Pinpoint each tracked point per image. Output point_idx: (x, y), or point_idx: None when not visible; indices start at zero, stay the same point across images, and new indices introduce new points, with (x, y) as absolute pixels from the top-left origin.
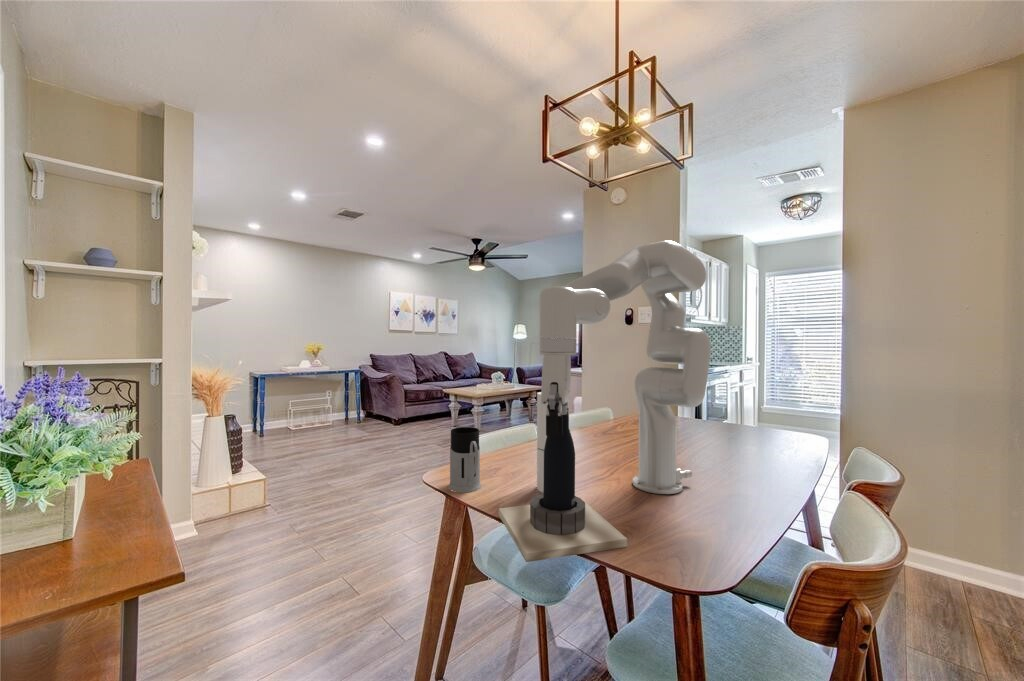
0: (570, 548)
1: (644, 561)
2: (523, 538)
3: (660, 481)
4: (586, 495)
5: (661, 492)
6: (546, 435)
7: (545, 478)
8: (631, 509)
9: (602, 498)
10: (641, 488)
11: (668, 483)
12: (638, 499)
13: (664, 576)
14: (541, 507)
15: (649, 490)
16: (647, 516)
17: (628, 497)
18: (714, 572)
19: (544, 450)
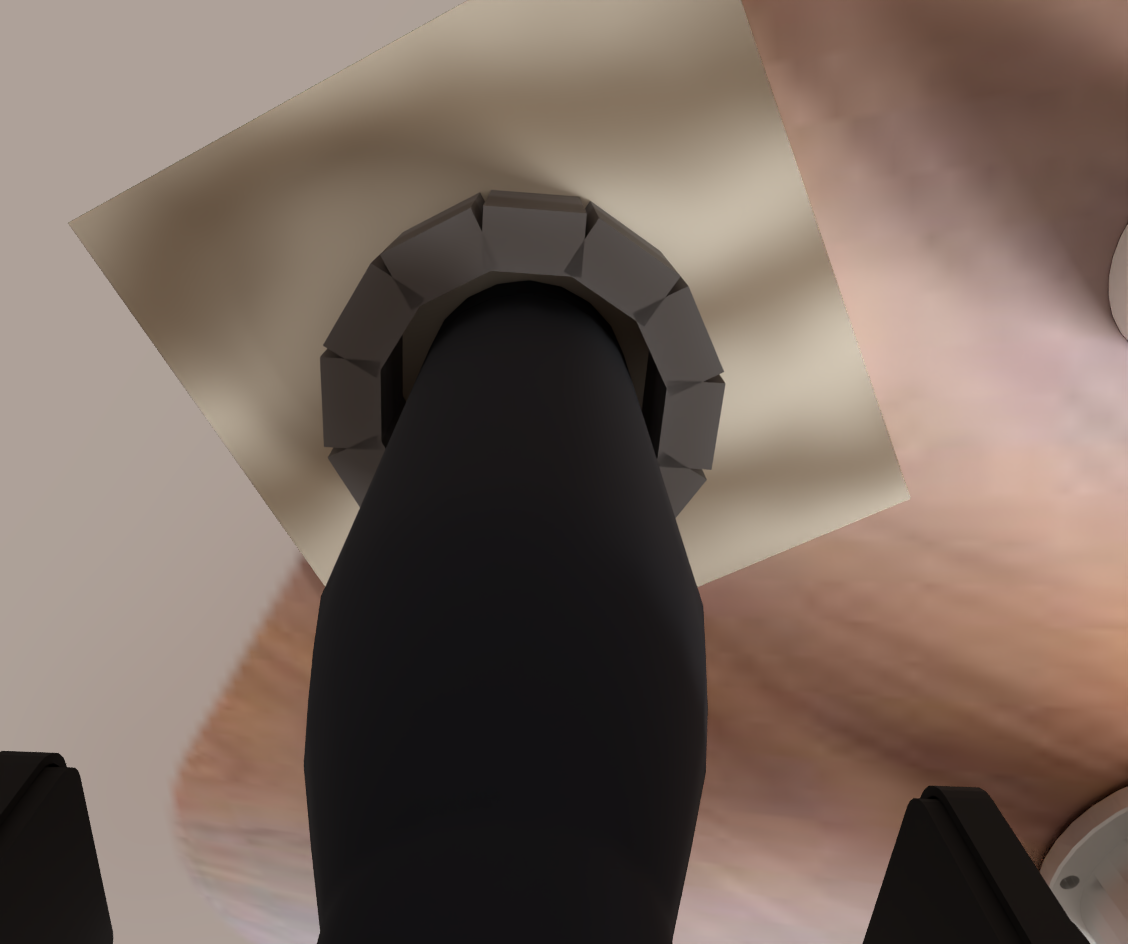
0: (236, 455)
1: (304, 731)
2: (244, 177)
3: (1106, 921)
4: (1059, 509)
5: (1043, 877)
6: (2, 752)
7: (429, 400)
8: (842, 726)
9: (1003, 598)
10: (1113, 801)
11: (1096, 941)
12: (980, 767)
13: (213, 780)
14: (408, 306)
15: (1074, 833)
16: (758, 783)
17: (1012, 725)
18: (302, 918)
19: (443, 504)
